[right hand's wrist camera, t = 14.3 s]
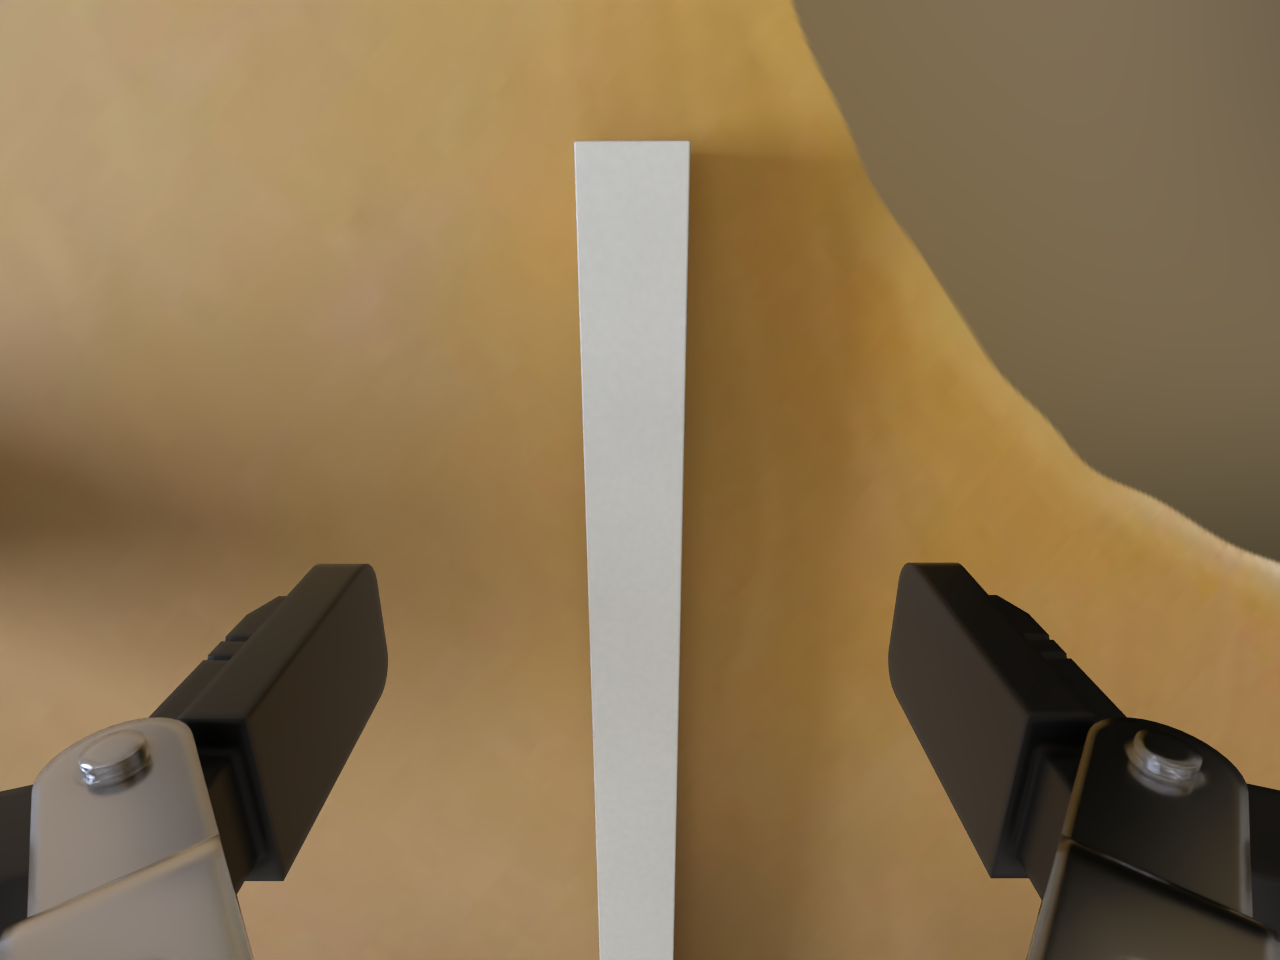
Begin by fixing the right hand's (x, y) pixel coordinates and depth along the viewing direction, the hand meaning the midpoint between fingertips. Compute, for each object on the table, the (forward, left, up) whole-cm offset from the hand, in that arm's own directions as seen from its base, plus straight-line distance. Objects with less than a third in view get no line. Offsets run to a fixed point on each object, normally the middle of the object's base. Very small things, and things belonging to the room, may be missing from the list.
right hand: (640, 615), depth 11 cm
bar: (+6, -20, -25) cm, 32 cm away
